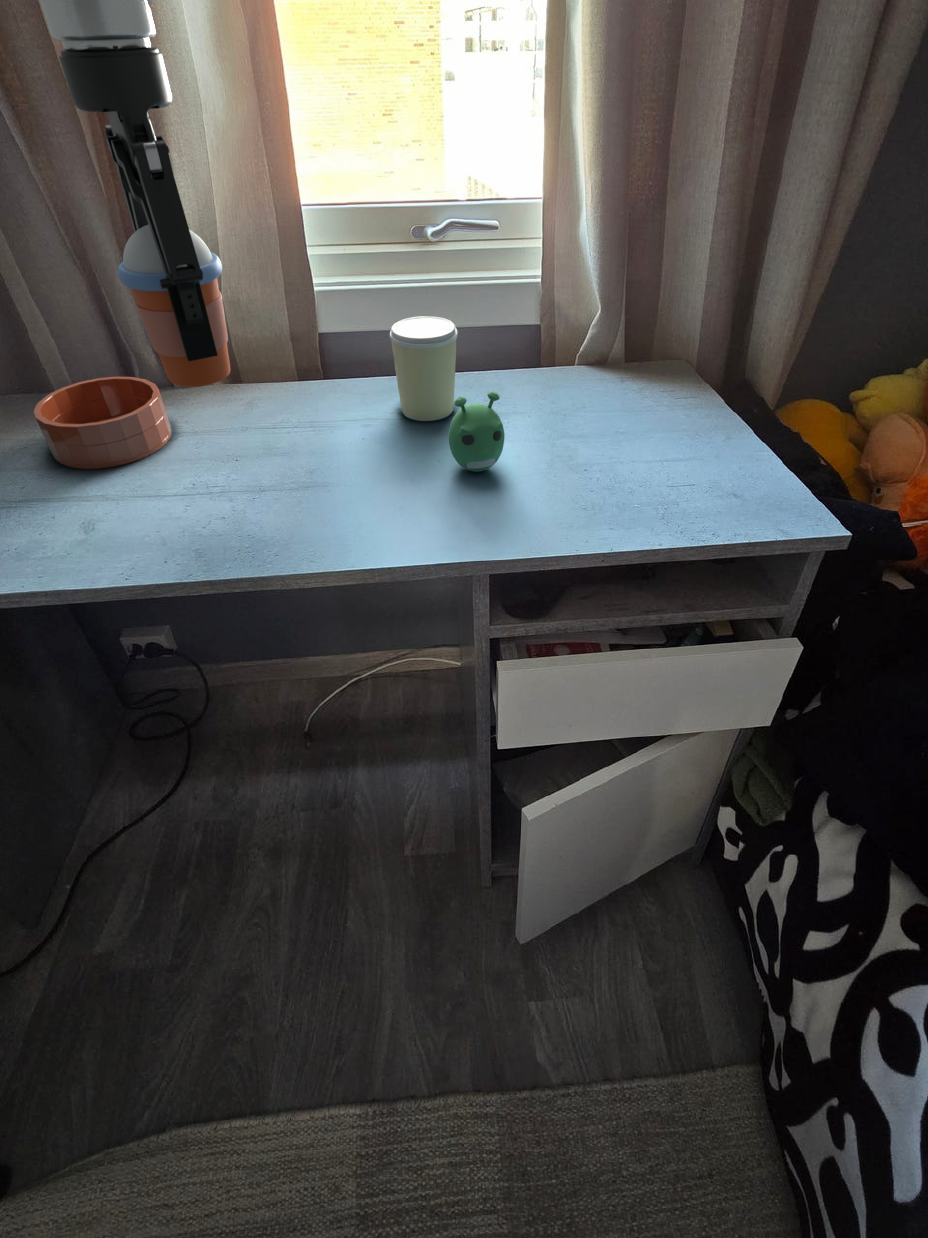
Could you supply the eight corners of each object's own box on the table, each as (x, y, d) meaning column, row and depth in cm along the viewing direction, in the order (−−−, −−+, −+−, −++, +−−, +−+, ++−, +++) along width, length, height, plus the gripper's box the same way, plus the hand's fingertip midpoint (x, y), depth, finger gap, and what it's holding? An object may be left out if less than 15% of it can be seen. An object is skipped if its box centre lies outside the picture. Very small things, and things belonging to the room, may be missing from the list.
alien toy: (459, 488, 86) (457, 412, 79) (443, 459, 91) (441, 386, 84) (512, 480, 87) (515, 404, 80) (494, 451, 92) (495, 379, 86)
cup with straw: (261, 377, 70) (216, 167, 58) (174, 402, 65) (105, 181, 53) (222, 351, 75) (174, 154, 63) (140, 373, 71) (71, 166, 59)
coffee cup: (429, 390, 107) (425, 310, 99) (471, 408, 102) (471, 325, 94) (383, 410, 102) (375, 327, 94) (425, 430, 97) (421, 344, 89)
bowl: (61, 480, 88) (41, 437, 84) (46, 432, 98) (28, 392, 94) (183, 449, 94) (170, 407, 90) (157, 407, 104) (145, 368, 100)
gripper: (191, 47, 47) (260, 370, 62) (133, 39, 61) (201, 303, 76) (74, 51, 44) (176, 388, 59) (41, 42, 59) (130, 316, 74)
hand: (190, 340), depth 68 cm, fingers closed on cup with straw, 9 cm apart
